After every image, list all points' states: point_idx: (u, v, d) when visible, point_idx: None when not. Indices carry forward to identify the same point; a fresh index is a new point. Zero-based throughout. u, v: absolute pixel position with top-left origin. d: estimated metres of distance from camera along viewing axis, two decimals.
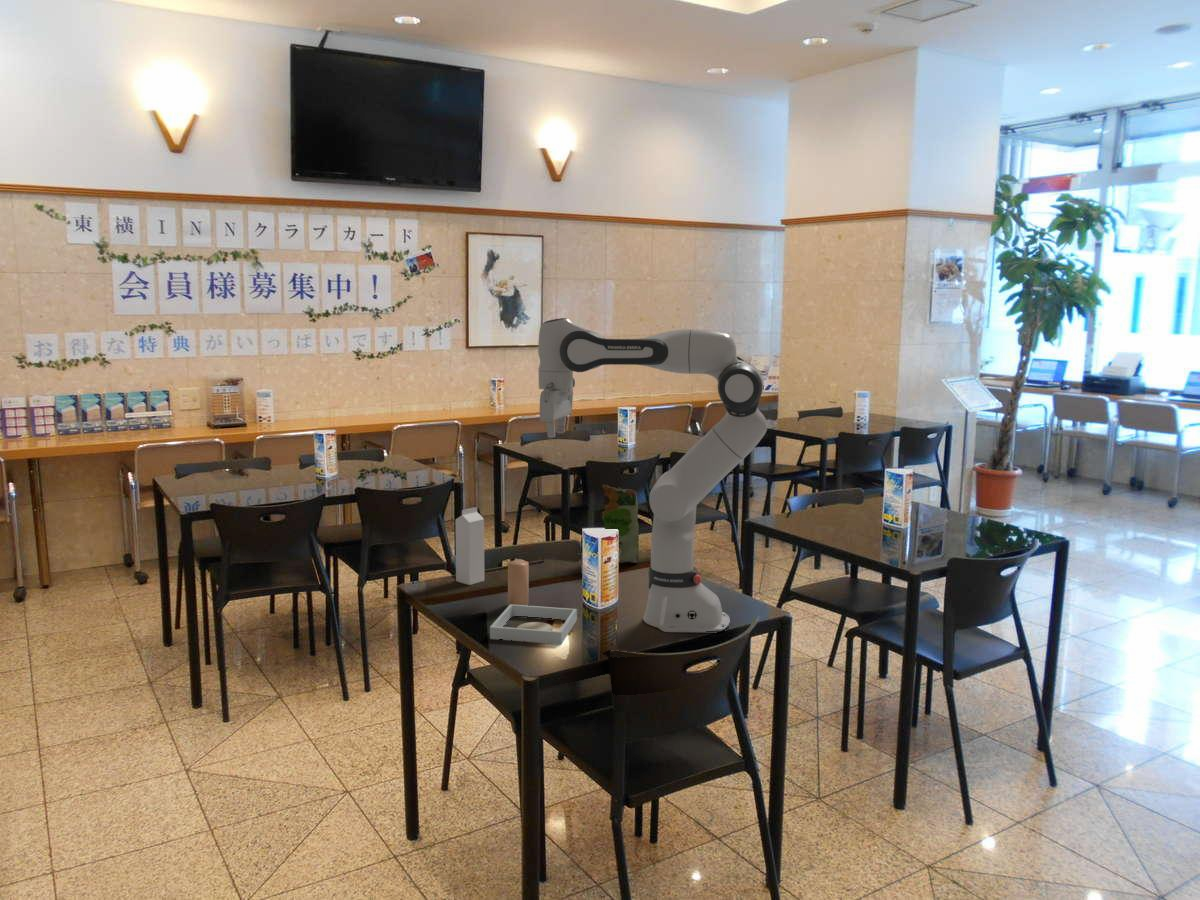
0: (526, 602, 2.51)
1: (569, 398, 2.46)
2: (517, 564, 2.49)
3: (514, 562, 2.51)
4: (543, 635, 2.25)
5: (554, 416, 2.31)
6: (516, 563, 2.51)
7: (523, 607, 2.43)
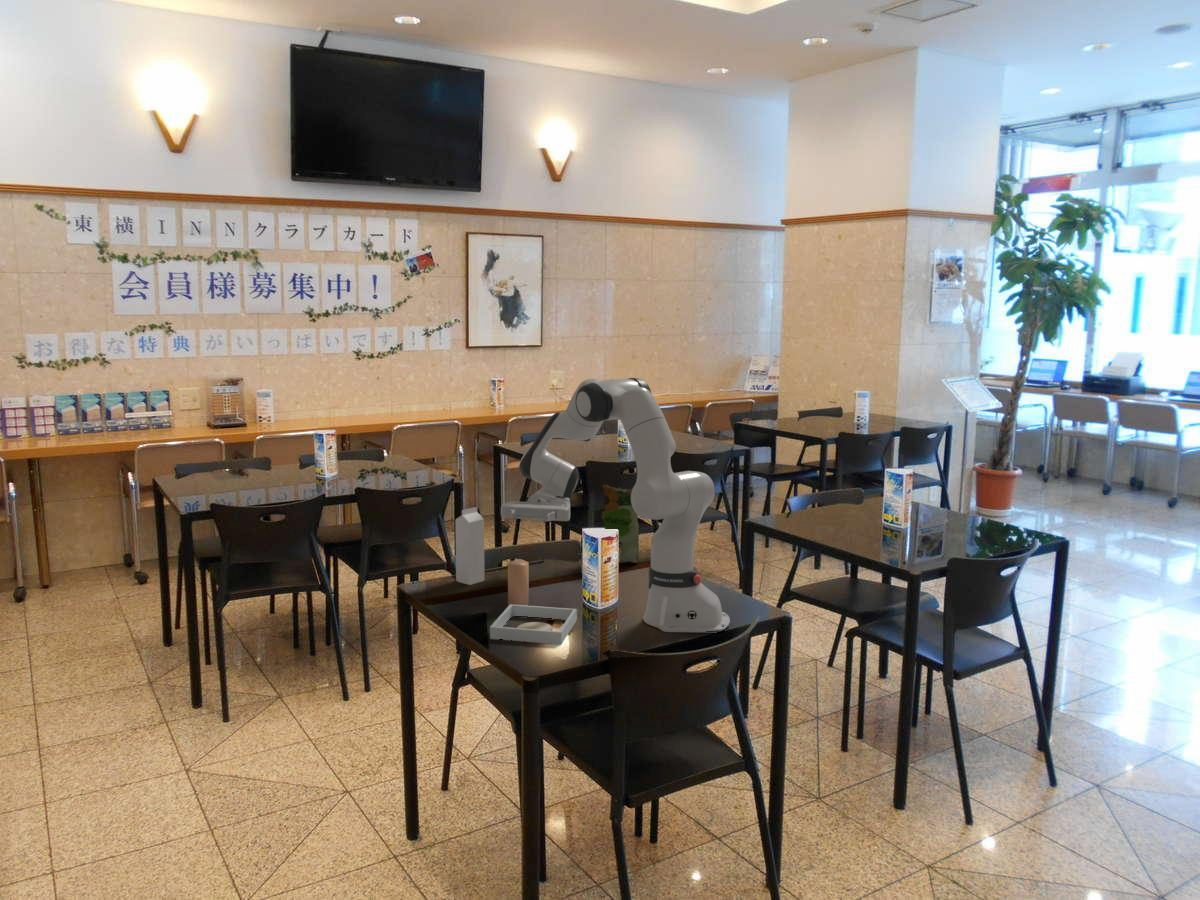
0: (526, 602, 2.51)
1: (562, 505, 2.68)
2: (517, 564, 2.49)
3: (514, 562, 2.51)
4: (543, 635, 2.25)
5: (505, 505, 2.68)
6: (516, 563, 2.51)
7: (523, 607, 2.43)
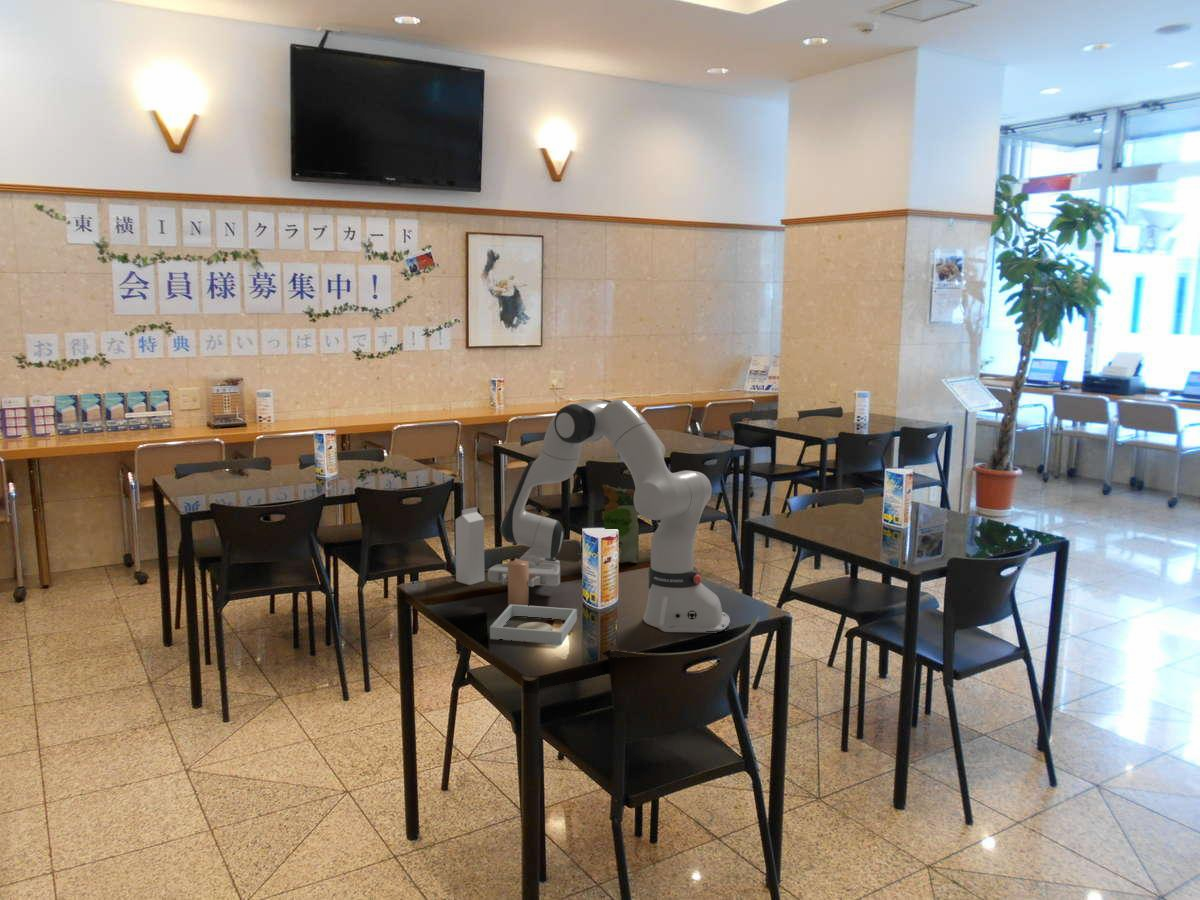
0: (526, 602, 2.51)
1: (552, 569, 2.58)
2: (517, 564, 2.49)
3: (514, 562, 2.51)
4: (543, 635, 2.25)
5: (493, 569, 2.58)
6: (516, 563, 2.51)
7: (523, 607, 2.43)
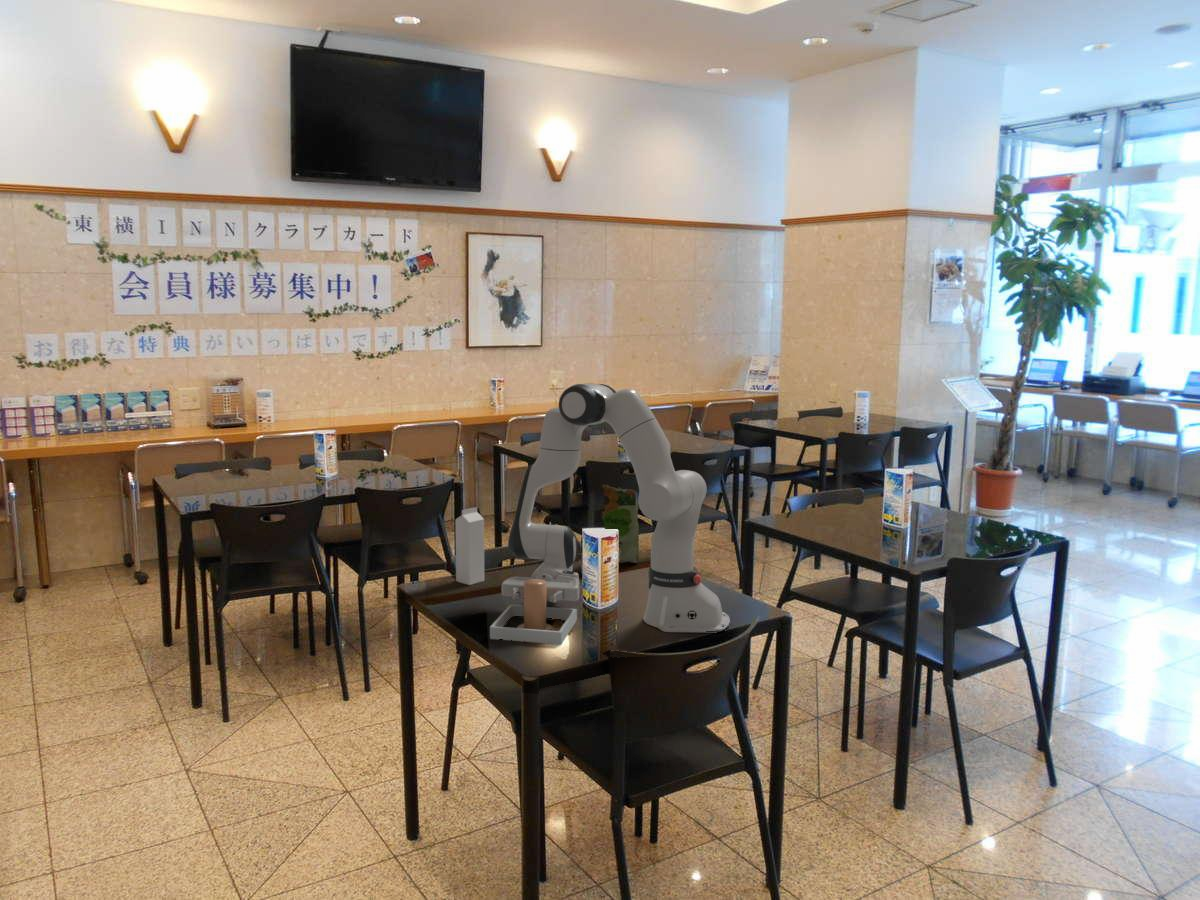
0: (543, 624, 2.33)
1: (570, 582, 2.39)
2: (534, 583, 2.31)
3: (531, 581, 2.33)
4: (543, 635, 2.25)
5: (507, 582, 2.39)
6: (533, 582, 2.32)
7: (523, 607, 2.43)
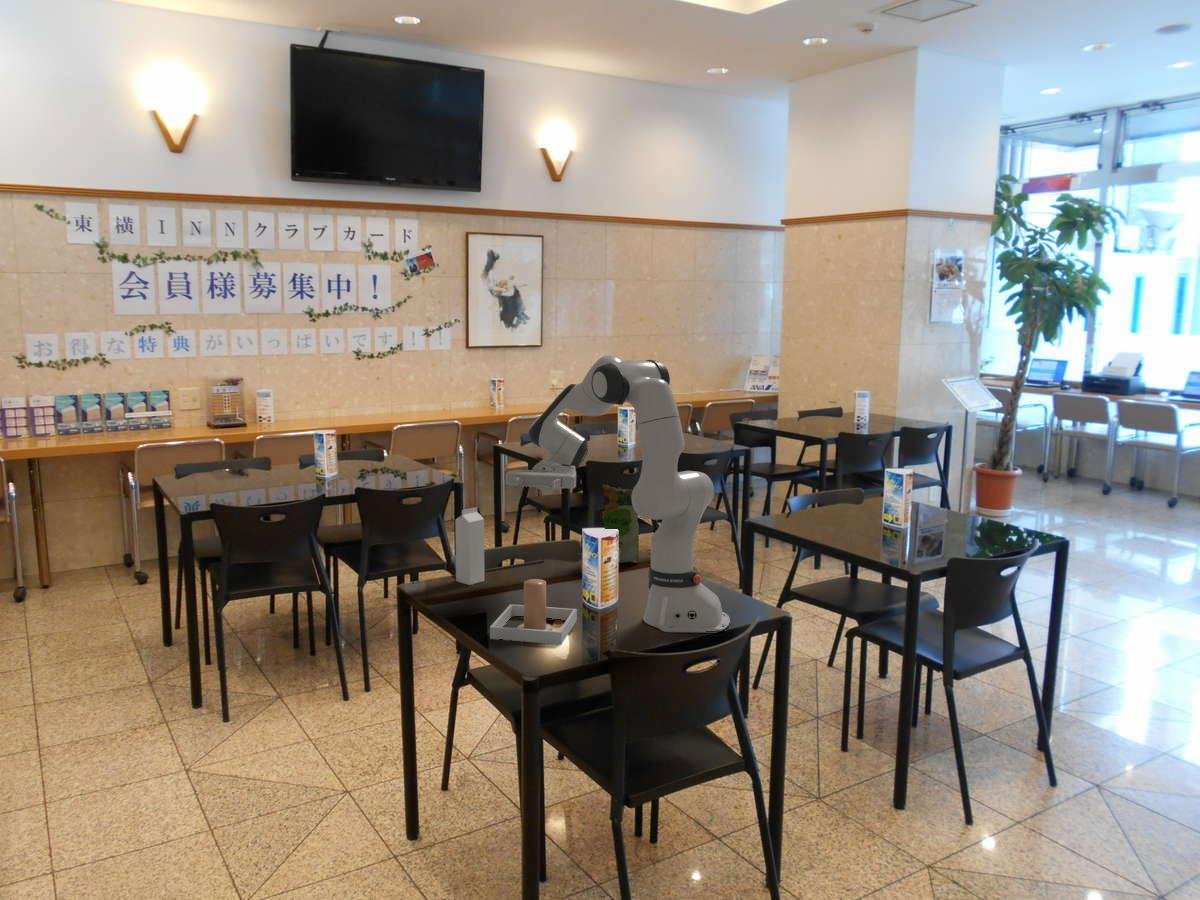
0: (543, 624, 2.33)
1: (568, 473, 2.64)
2: (533, 583, 2.31)
3: (530, 581, 2.33)
4: (543, 635, 2.25)
5: (510, 472, 2.64)
6: (532, 582, 2.32)
7: (523, 607, 2.43)
